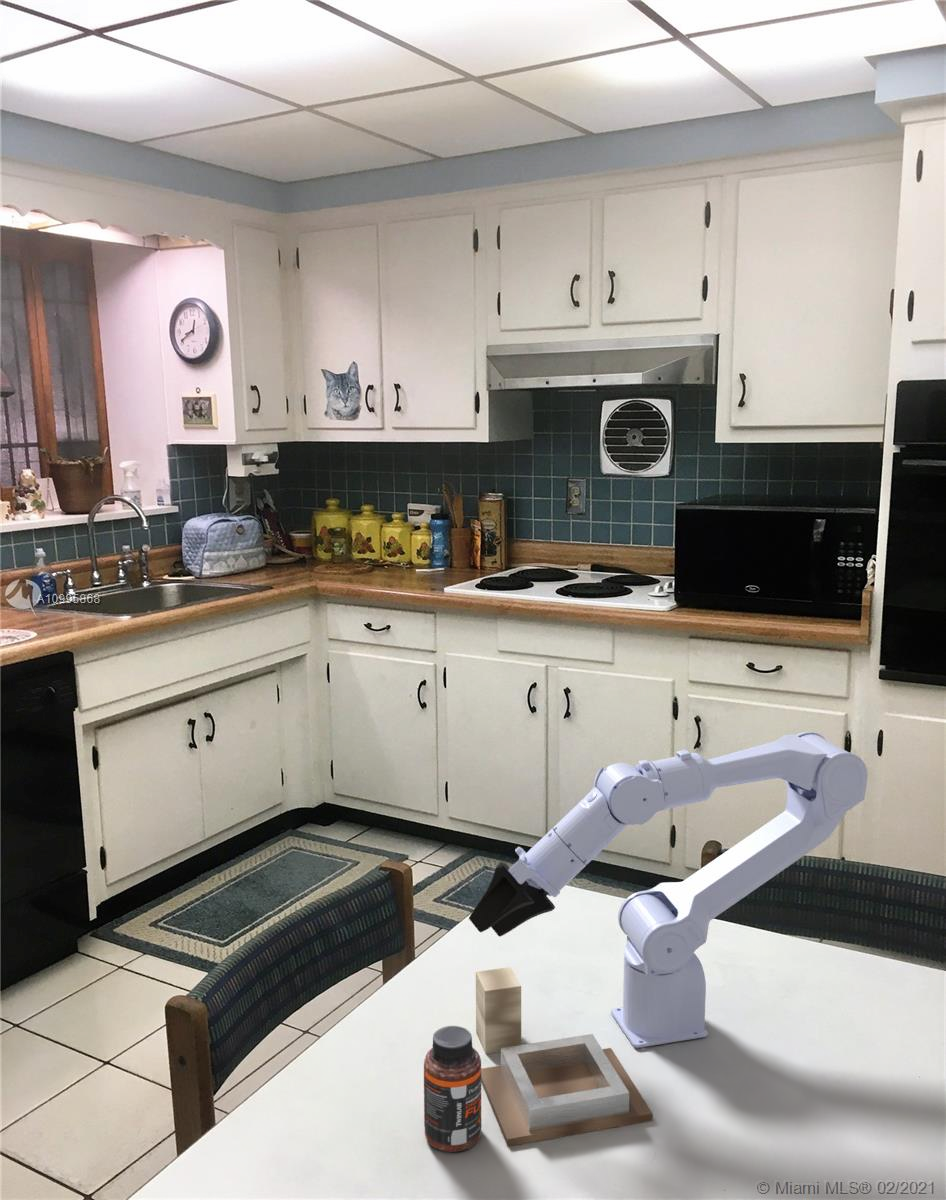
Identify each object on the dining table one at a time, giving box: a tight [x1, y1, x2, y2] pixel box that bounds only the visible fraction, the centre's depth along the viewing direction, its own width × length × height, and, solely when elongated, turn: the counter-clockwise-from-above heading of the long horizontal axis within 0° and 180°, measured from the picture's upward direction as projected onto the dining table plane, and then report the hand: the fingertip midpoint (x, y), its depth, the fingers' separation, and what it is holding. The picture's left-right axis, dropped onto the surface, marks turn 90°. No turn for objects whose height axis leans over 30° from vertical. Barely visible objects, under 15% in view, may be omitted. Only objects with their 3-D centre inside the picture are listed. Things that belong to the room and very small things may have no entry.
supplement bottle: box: [423, 1025, 482, 1153], centre depth 106 cm, size 6×6×11 cm
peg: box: [475, 966, 522, 1055], centre depth 123 cm, size 4×4×8 cm
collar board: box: [481, 1033, 654, 1147], centre depth 113 cm, size 16×12×3 cm
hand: (484, 927), depth 120 cm, fingers open, 7 cm apart
